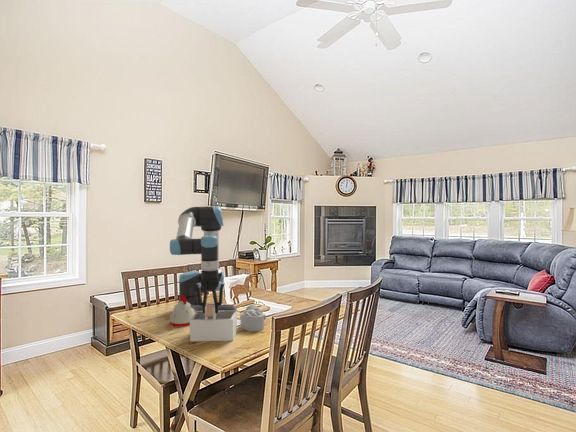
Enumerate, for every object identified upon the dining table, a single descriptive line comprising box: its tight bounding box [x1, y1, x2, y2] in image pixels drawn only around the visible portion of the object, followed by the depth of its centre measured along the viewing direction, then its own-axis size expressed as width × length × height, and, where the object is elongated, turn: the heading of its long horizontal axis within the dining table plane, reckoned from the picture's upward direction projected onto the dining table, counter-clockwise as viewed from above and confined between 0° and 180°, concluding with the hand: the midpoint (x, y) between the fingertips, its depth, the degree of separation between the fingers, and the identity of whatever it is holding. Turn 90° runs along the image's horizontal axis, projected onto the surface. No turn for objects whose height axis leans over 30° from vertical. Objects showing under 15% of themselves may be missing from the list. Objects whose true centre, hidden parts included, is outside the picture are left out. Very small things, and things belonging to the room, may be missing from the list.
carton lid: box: [190, 303, 238, 316], centre depth 166 cm, size 18×20×6 cm
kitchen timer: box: [169, 295, 196, 328], centre depth 189 cm, size 14×14×15 cm
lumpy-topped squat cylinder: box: [240, 308, 265, 332], centre depth 180 cm, size 10×13×9 cm
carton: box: [189, 311, 238, 342], centre depth 168 cm, size 14×20×10 cm
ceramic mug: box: [245, 304, 267, 320], centre depth 193 cm, size 11×8×8 cm
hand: (210, 319), depth 160 cm, fingers closed on carton lid, 3 cm apart
